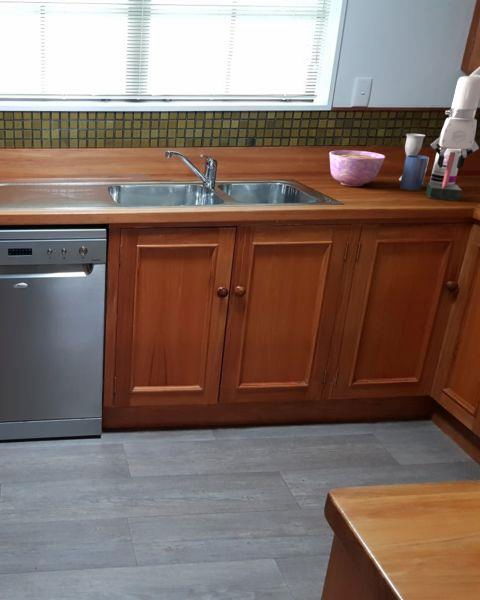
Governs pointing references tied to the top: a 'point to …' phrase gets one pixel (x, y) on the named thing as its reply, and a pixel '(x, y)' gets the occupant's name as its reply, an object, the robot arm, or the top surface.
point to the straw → (448, 169)
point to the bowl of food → (355, 166)
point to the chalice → (413, 144)
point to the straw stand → (443, 192)
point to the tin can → (414, 172)
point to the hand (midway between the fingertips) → (449, 167)
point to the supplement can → (440, 172)
